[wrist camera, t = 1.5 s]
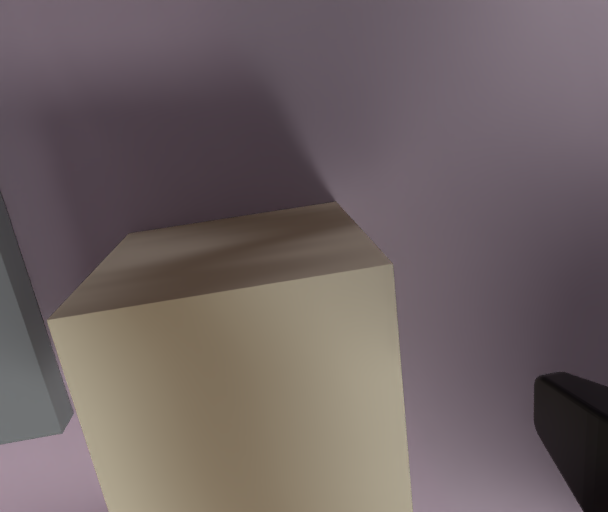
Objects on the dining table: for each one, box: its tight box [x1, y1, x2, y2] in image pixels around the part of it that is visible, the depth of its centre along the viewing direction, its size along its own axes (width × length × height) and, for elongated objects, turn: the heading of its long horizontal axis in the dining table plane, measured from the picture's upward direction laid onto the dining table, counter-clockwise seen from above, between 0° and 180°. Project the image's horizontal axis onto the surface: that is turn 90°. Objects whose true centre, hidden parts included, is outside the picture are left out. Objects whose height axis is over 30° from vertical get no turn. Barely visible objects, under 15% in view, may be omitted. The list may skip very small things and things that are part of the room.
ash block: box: [47, 202, 413, 512], centre depth 10 cm, size 5×5×5 cm
